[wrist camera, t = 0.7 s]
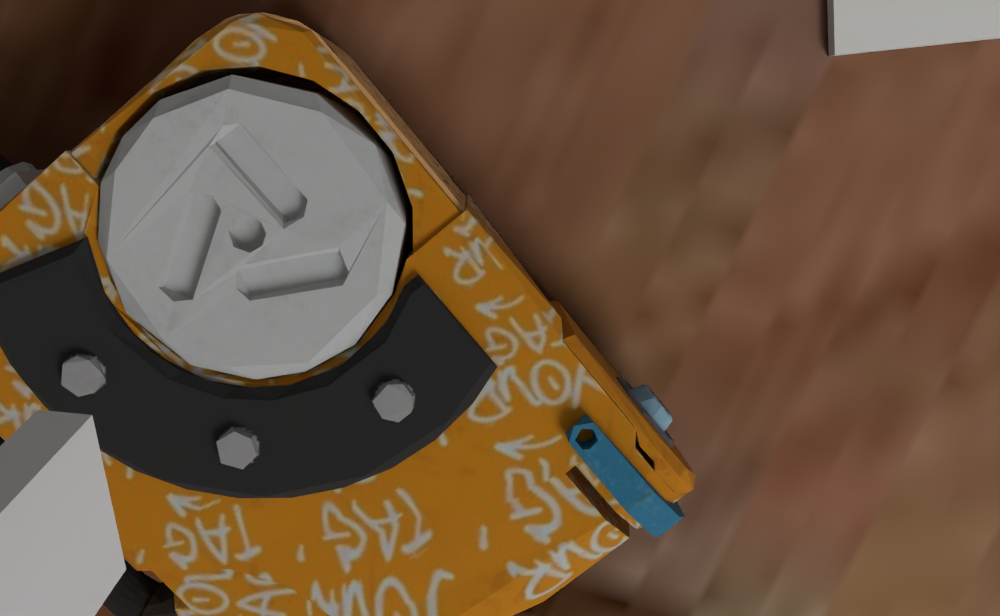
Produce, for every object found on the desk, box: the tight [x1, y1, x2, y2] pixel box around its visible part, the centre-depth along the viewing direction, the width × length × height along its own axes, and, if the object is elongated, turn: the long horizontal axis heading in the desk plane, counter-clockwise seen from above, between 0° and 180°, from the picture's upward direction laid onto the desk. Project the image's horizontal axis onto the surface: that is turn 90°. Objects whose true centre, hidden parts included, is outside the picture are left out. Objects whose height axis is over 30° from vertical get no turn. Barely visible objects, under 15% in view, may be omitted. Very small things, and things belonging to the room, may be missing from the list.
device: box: [0, 12, 695, 616], centre depth 32 cm, size 23×8×30 cm
